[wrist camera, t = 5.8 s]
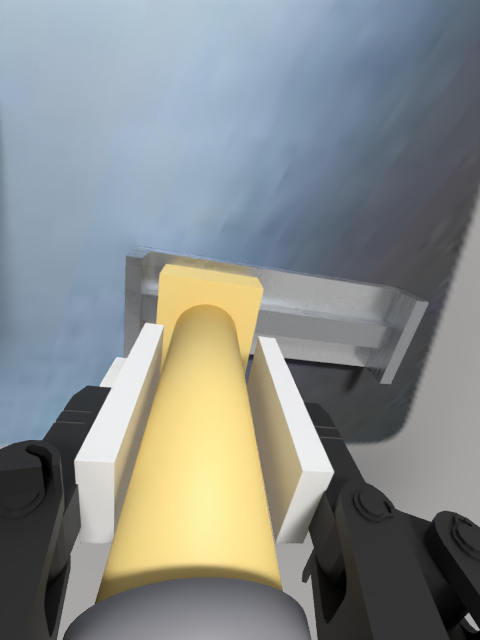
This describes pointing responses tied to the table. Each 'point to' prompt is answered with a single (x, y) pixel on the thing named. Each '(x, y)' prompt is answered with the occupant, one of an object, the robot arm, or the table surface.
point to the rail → (295, 311)
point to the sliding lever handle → (197, 487)
